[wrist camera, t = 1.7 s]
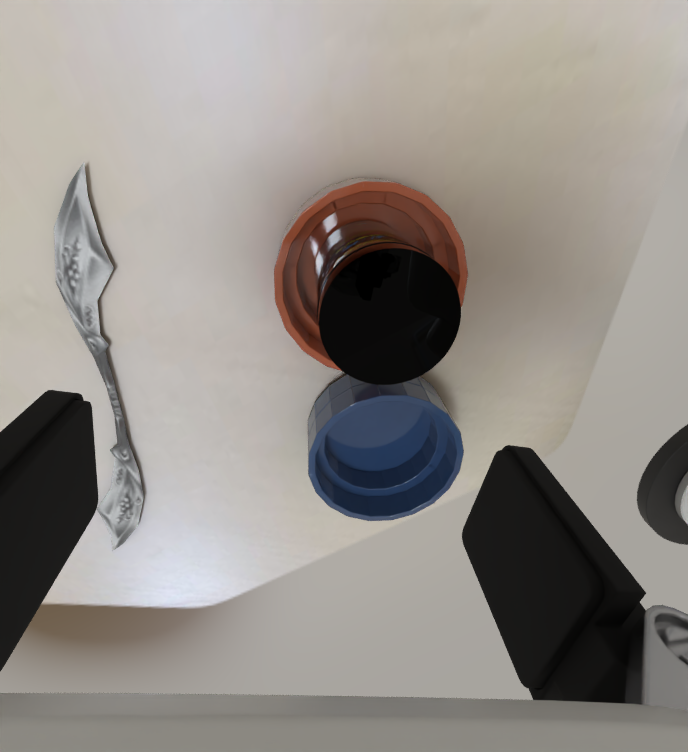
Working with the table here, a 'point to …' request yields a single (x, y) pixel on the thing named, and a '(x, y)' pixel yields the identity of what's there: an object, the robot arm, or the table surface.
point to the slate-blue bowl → (382, 448)
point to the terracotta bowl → (338, 208)
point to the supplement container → (383, 304)
